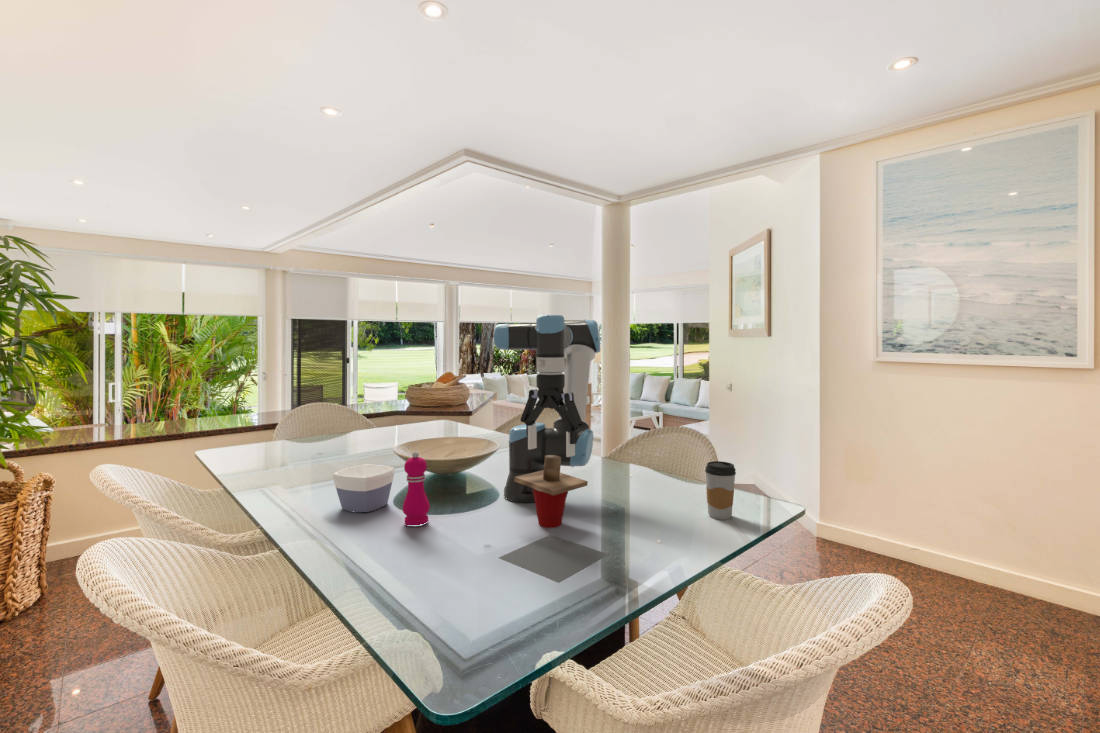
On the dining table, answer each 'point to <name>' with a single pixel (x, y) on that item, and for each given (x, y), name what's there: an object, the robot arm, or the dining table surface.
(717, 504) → the coffee cup
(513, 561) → the mat
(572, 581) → the dining table surface
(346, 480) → the bowl
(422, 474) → the pepper mill
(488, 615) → the dining table surface
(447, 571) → the dining table surface
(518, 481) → the lid
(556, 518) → the plastic cup
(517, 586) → the dining table surface
